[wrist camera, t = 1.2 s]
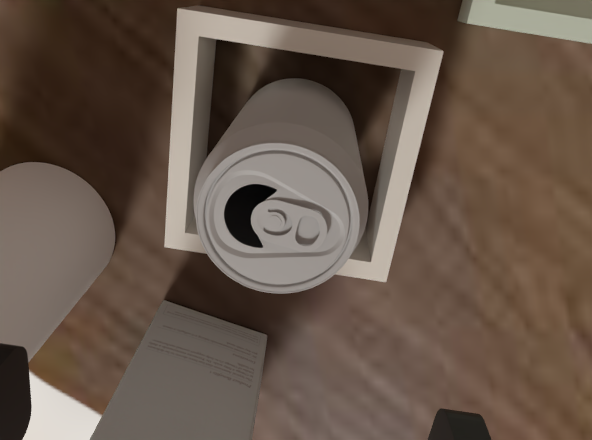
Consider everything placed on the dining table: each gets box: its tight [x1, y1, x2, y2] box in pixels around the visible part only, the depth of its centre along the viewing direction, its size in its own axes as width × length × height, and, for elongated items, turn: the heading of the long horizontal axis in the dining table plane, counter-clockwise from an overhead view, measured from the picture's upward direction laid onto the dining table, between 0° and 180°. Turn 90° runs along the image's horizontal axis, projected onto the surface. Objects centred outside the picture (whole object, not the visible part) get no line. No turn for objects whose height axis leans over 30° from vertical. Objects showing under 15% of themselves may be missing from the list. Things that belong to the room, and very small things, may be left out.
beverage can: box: [193, 78, 368, 294], centre depth 24 cm, size 6×6×12 cm
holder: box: [164, 6, 444, 282], centre depth 27 cm, size 12×12×4 cm
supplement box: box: [90, 300, 267, 440], centre depth 30 cm, size 7×7×13 cm
